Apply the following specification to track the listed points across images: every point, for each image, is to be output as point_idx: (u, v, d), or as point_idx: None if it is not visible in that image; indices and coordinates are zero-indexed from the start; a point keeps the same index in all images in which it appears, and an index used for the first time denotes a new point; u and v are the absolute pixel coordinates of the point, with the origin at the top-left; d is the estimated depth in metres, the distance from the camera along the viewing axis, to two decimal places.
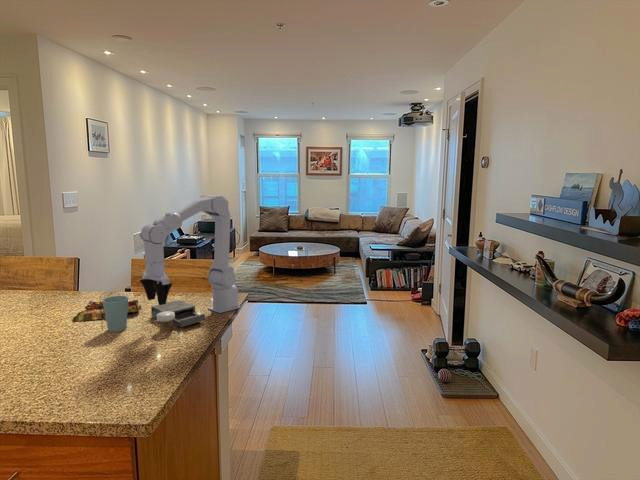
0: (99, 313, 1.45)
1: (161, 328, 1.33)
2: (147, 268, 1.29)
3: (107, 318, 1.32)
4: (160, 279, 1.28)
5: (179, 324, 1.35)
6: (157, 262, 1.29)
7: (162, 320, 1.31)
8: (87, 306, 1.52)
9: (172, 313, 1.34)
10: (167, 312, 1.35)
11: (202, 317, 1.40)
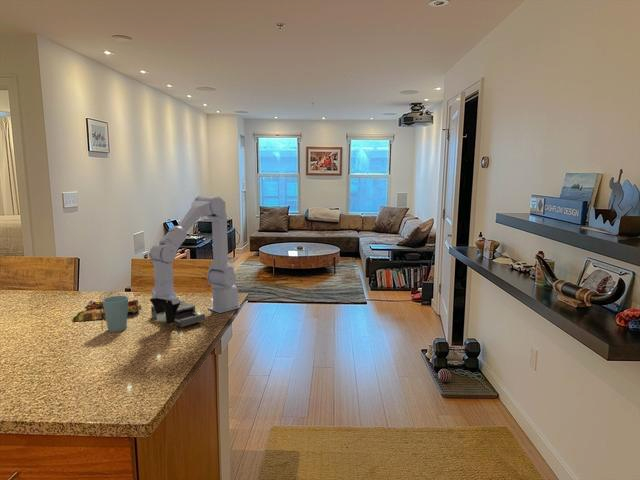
0: (99, 313, 1.45)
1: (161, 328, 1.33)
2: (157, 287, 1.30)
3: (107, 318, 1.32)
4: (170, 298, 1.28)
5: (179, 324, 1.35)
6: (167, 281, 1.29)
7: (162, 320, 1.31)
8: (87, 306, 1.52)
9: None
10: None
11: (202, 317, 1.40)
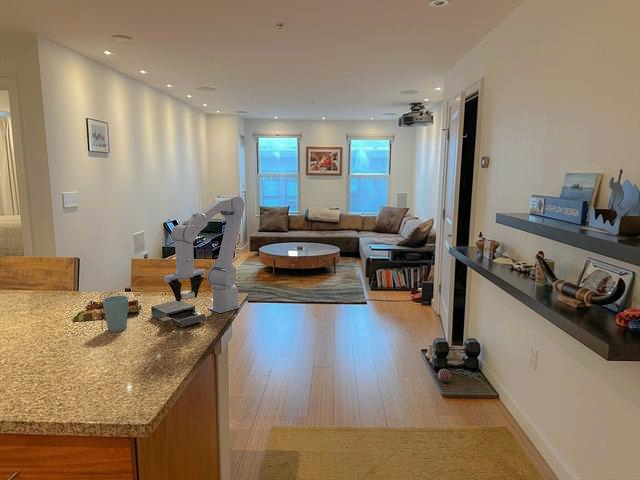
0: (99, 313, 1.45)
1: (161, 328, 1.33)
2: None
3: (107, 318, 1.32)
4: None
5: (179, 324, 1.35)
6: (176, 260, 1.35)
7: None
8: (87, 306, 1.52)
9: (186, 294, 1.37)
10: (191, 292, 1.39)
11: (202, 317, 1.40)
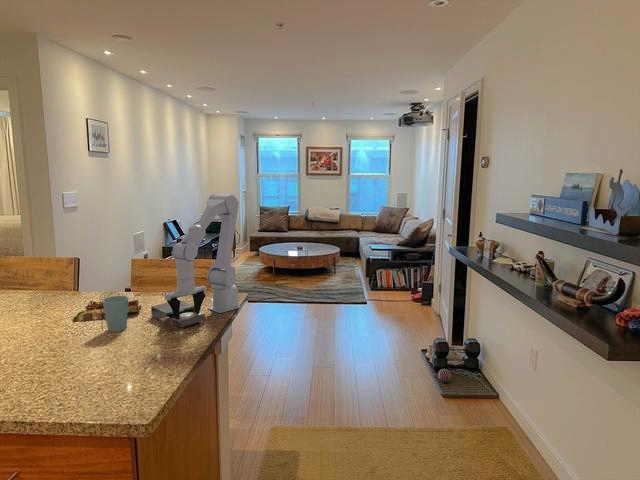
0: (99, 313, 1.45)
1: (161, 328, 1.33)
2: None
3: (107, 318, 1.32)
4: None
5: (179, 324, 1.35)
6: (177, 278, 1.36)
7: None
8: (87, 306, 1.53)
9: (187, 317, 1.38)
10: (192, 315, 1.40)
11: (202, 317, 1.40)
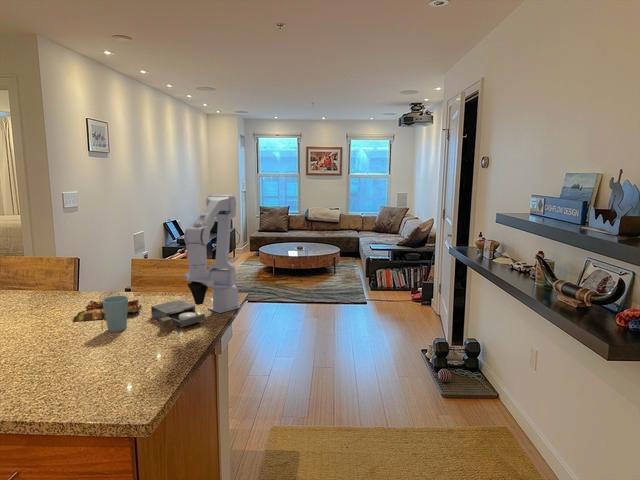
0: (99, 313, 1.45)
1: (161, 328, 1.33)
2: (191, 270, 1.30)
3: (107, 318, 1.32)
4: (205, 281, 1.28)
5: (179, 324, 1.35)
6: (201, 264, 1.30)
7: None
8: (88, 306, 1.53)
9: (187, 317, 1.38)
10: (192, 315, 1.40)
11: (202, 317, 1.40)
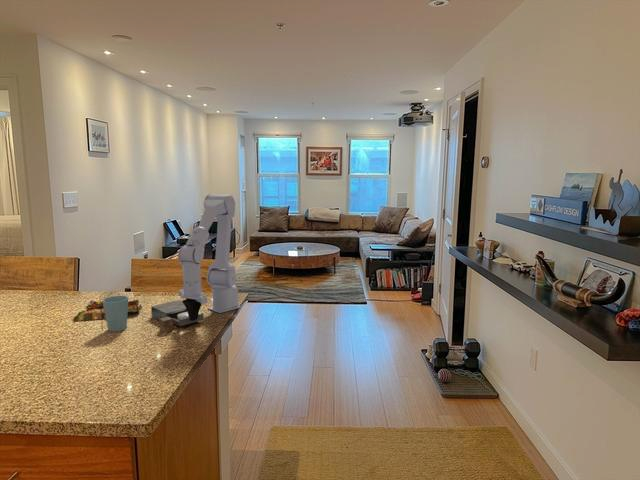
0: (99, 313, 1.45)
1: (161, 328, 1.33)
2: (185, 288, 1.33)
3: (107, 318, 1.32)
4: (199, 298, 1.31)
5: (178, 324, 1.36)
6: (195, 282, 1.33)
7: None
8: (88, 306, 1.53)
9: (186, 316, 1.39)
10: None
11: (200, 316, 1.40)
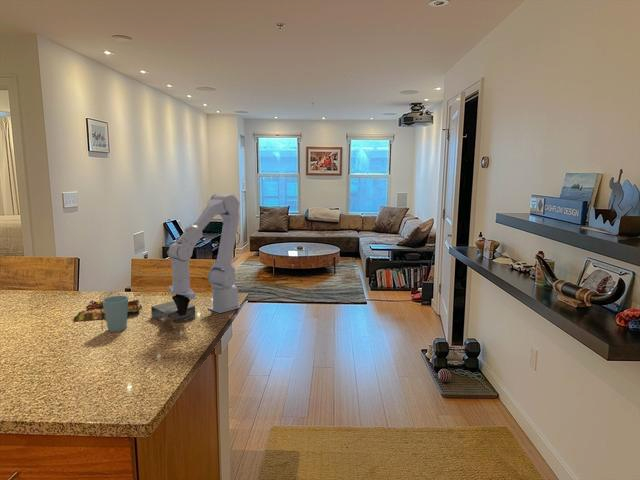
0: (99, 313, 1.45)
1: (161, 328, 1.33)
2: (174, 284, 1.38)
3: (107, 318, 1.32)
4: (187, 294, 1.36)
5: None
6: (184, 278, 1.38)
7: None
8: (88, 306, 1.53)
9: None
10: None
11: (190, 312, 1.45)
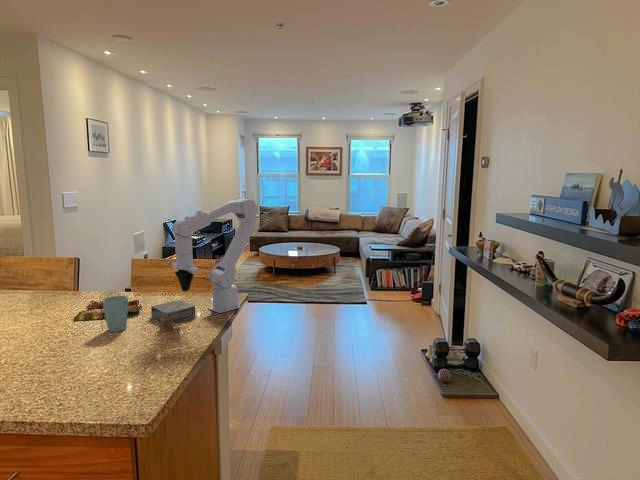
0: (100, 313, 1.46)
1: (161, 328, 1.33)
2: (178, 259, 1.42)
3: (107, 318, 1.32)
4: (190, 269, 1.40)
5: None
6: (187, 254, 1.42)
7: None
8: (88, 306, 1.53)
9: None
10: None
11: (190, 312, 1.45)
